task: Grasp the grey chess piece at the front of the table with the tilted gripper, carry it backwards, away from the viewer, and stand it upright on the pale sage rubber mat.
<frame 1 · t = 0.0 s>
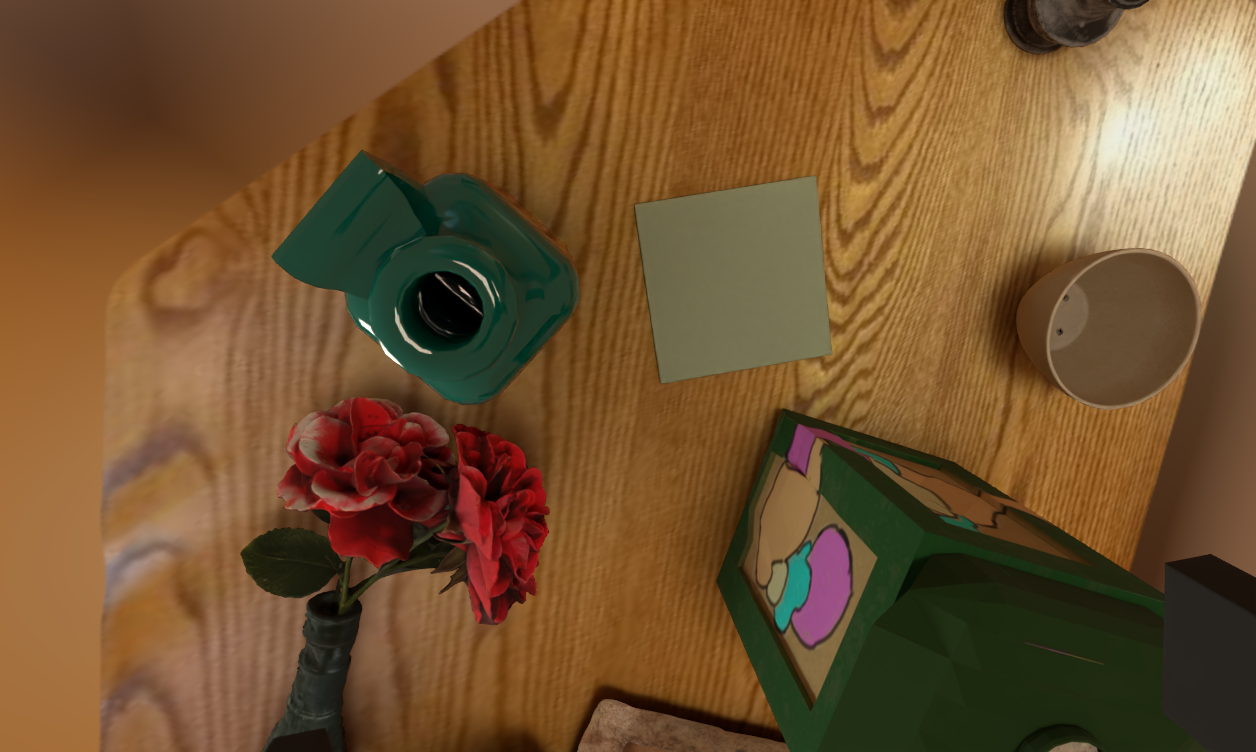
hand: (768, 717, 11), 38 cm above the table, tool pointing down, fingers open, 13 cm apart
grey chess piece: (1041, 11, 47), on the table
flower pot: (1046, 314, 52), on the table
container: (831, 525, 54), on the table
mat: (735, 281, 49), on the table
carnation: (385, 613, 52), on the table
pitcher: (486, 259, 47), on the table
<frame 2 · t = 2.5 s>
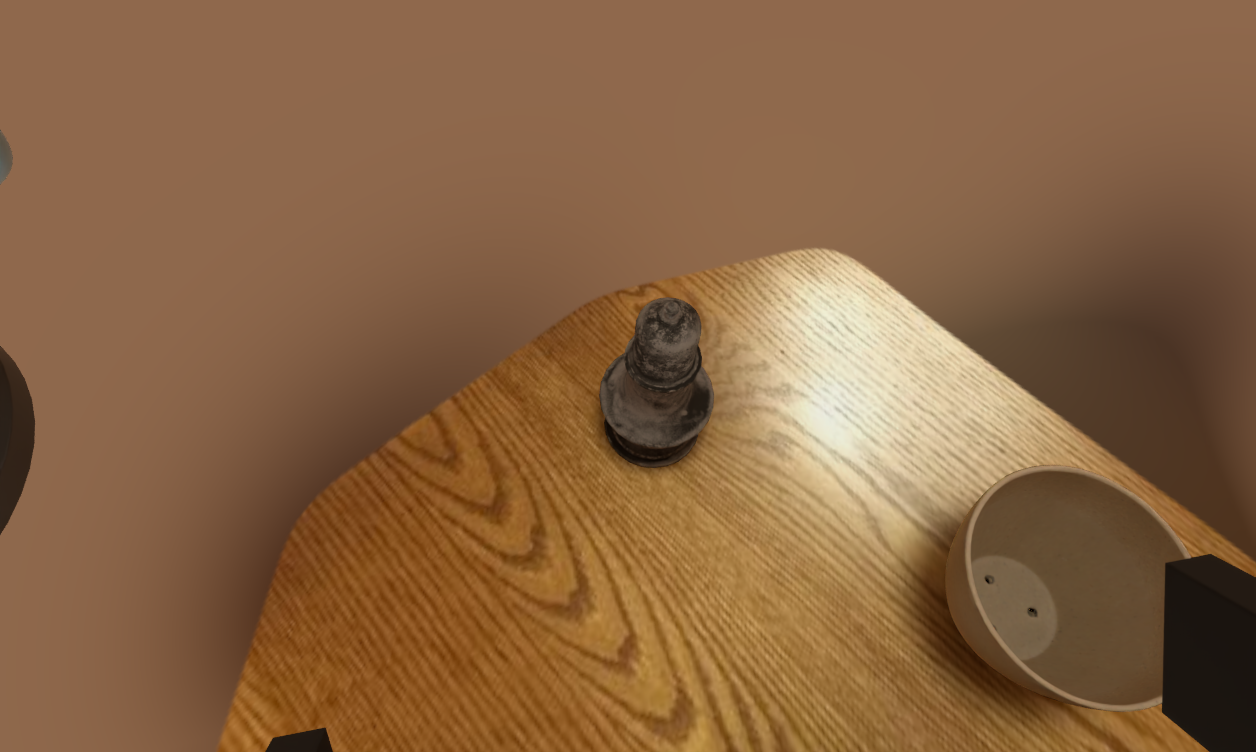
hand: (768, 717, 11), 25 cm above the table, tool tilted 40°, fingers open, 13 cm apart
grey chess piece: (651, 424, 41), on the table
flower pot: (999, 610, 37), on the table
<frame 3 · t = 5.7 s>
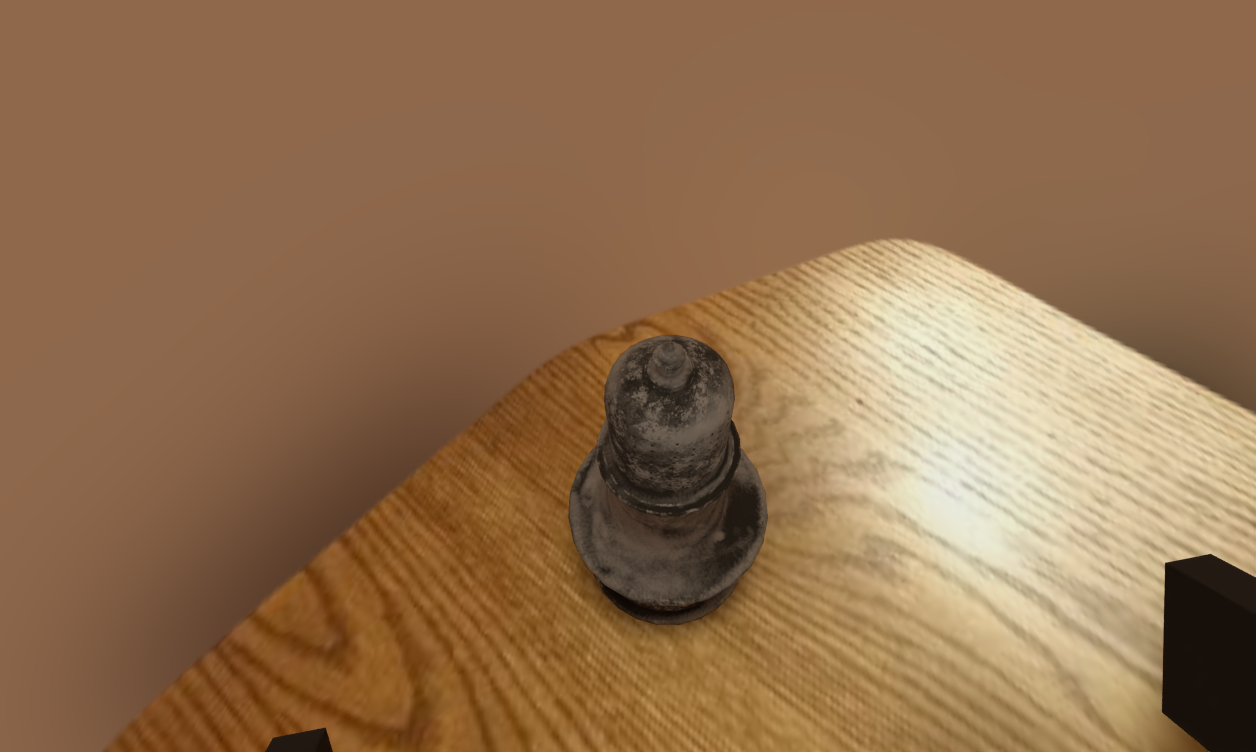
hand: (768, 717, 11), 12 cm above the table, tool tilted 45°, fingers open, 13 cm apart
grey chess piece: (666, 546, 25), on the table
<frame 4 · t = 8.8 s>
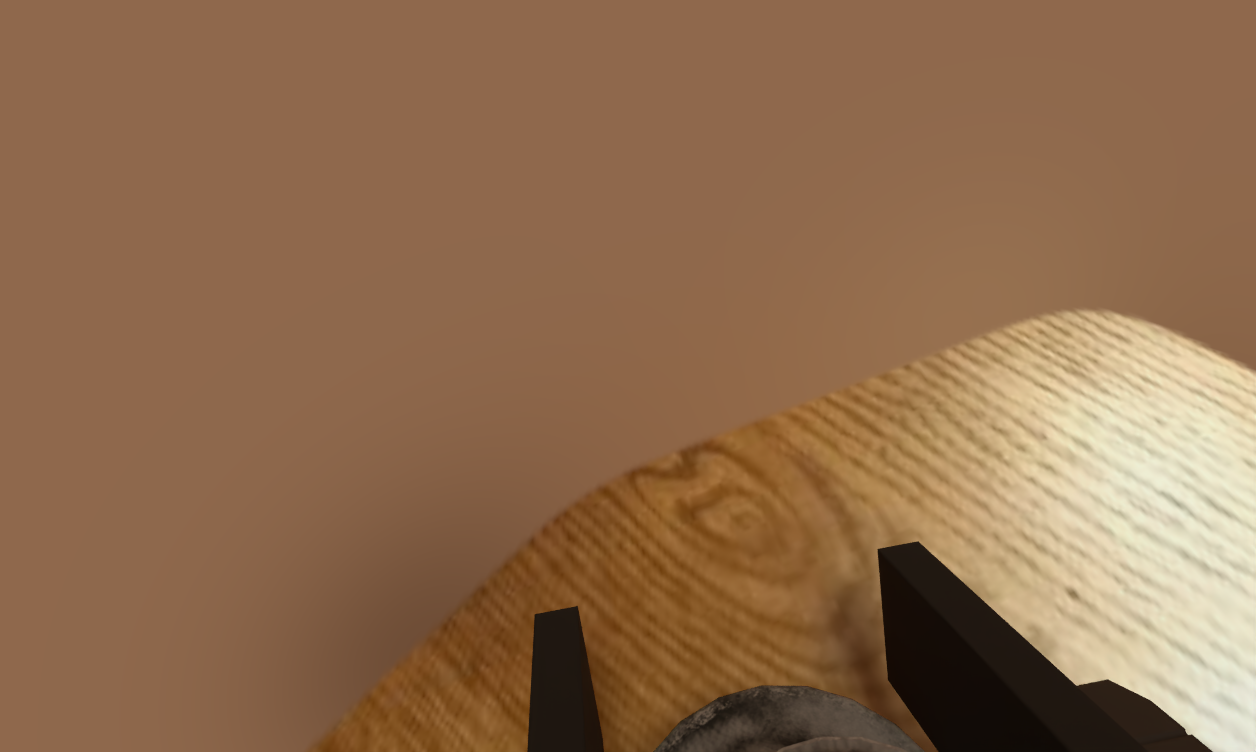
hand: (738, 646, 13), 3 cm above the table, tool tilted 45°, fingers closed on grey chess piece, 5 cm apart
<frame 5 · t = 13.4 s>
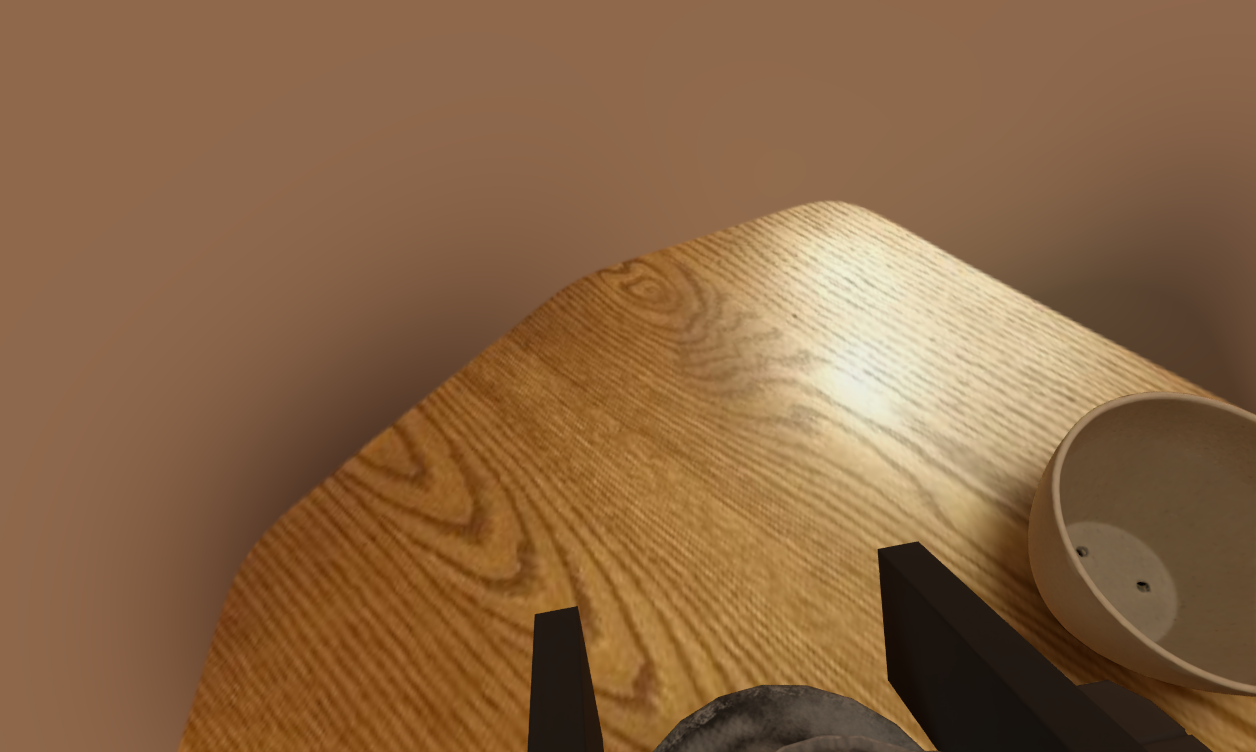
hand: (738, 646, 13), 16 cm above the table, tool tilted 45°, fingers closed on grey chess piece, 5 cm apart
flower pot: (1100, 589, 30), on the table
when the fingers open (4 cm above the table, at t = 18.1 s): grey chess piece stays where it is, resting on mat.
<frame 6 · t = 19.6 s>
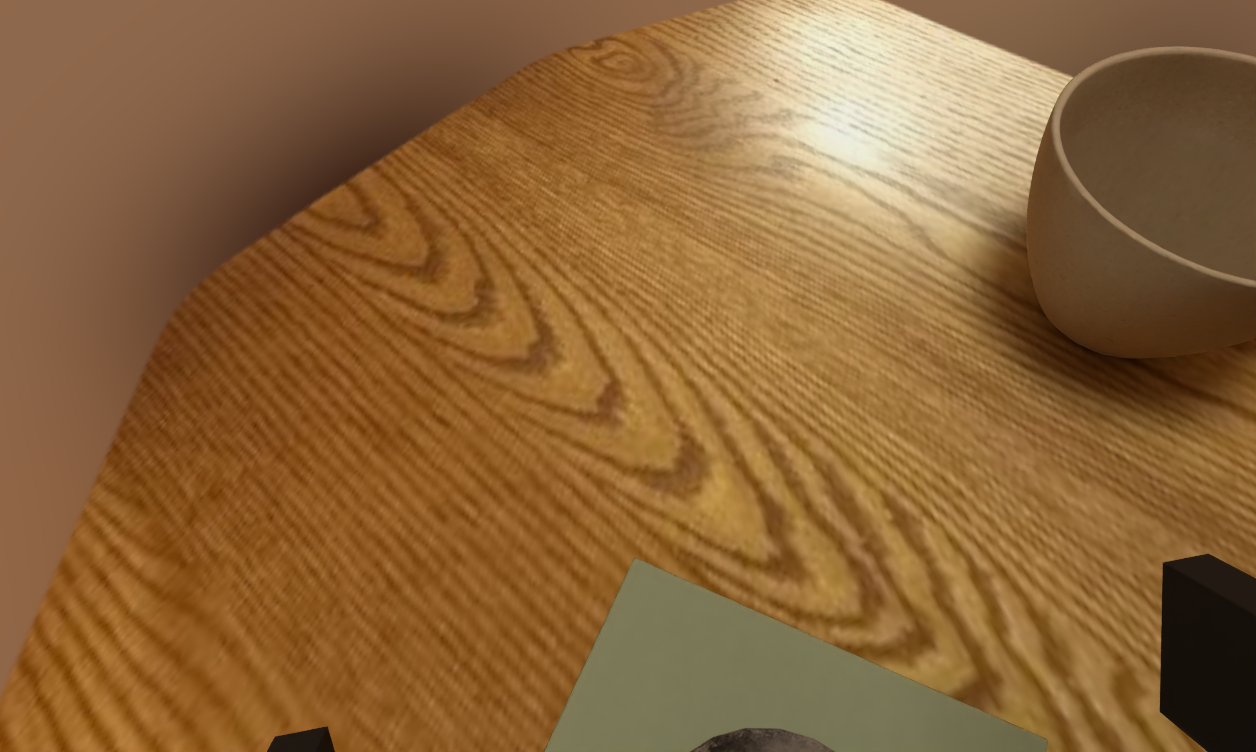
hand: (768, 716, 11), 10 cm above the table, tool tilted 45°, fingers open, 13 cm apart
flower pot: (1106, 307, 27), on the table
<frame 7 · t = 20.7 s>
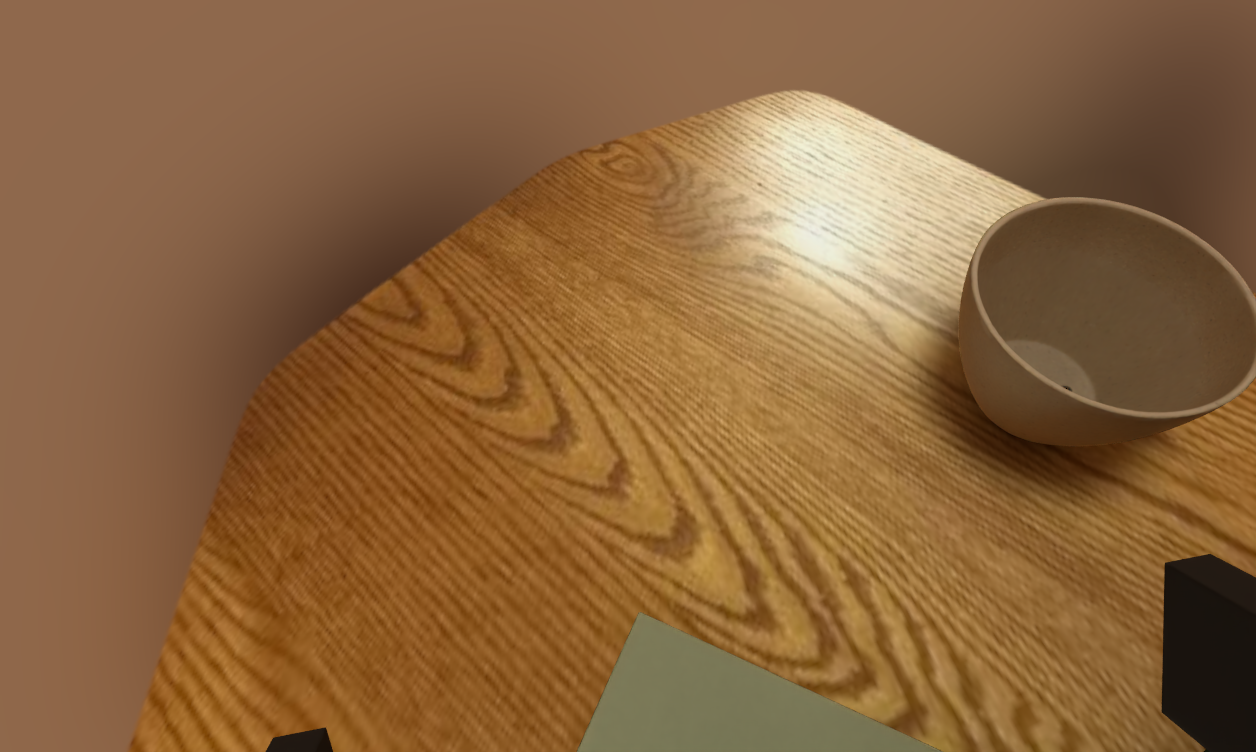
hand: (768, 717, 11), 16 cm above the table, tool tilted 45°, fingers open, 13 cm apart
flower pot: (1028, 396, 33), on the table
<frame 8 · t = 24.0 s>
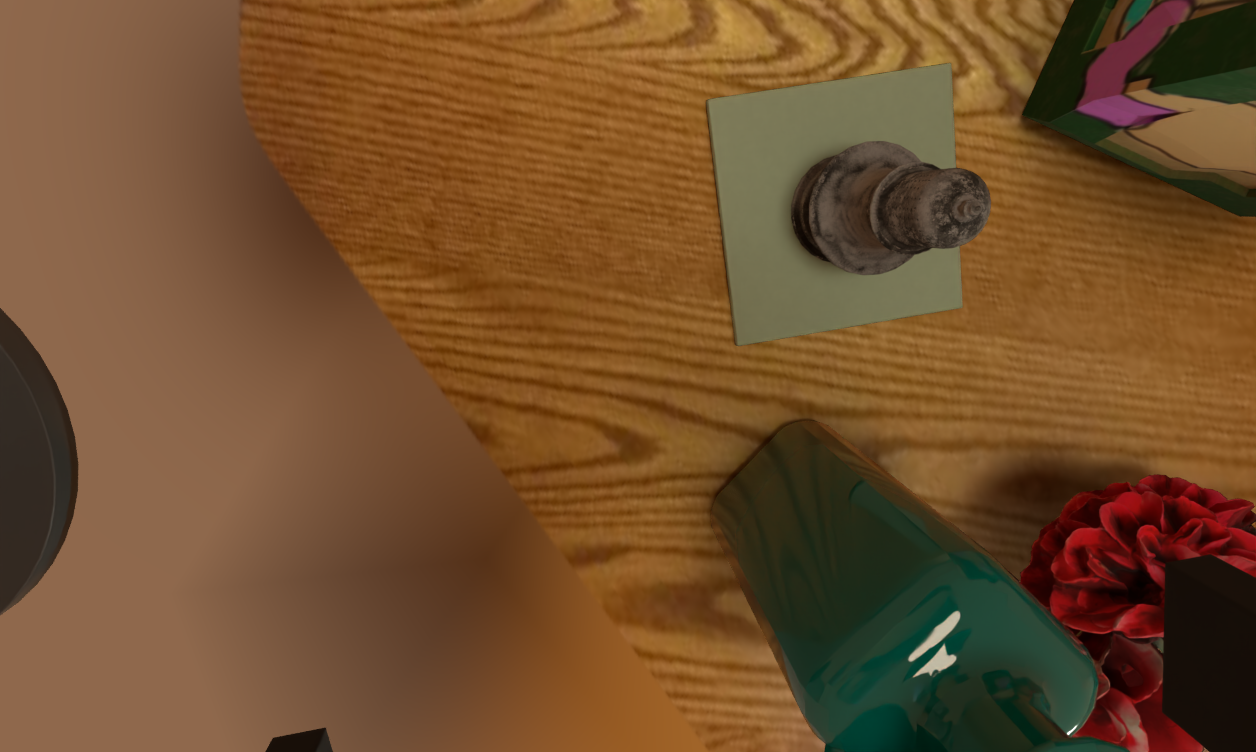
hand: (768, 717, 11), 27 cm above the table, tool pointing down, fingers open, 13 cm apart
grey chess piece: (841, 209, 36), resting on mat
container: (1202, 39, 37), on the table
mat: (837, 208, 36), on the table
carnation: (1183, 623, 44), on the table
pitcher: (790, 514, 40), on the table
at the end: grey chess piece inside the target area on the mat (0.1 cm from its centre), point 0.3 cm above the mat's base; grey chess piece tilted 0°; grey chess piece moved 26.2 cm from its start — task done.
